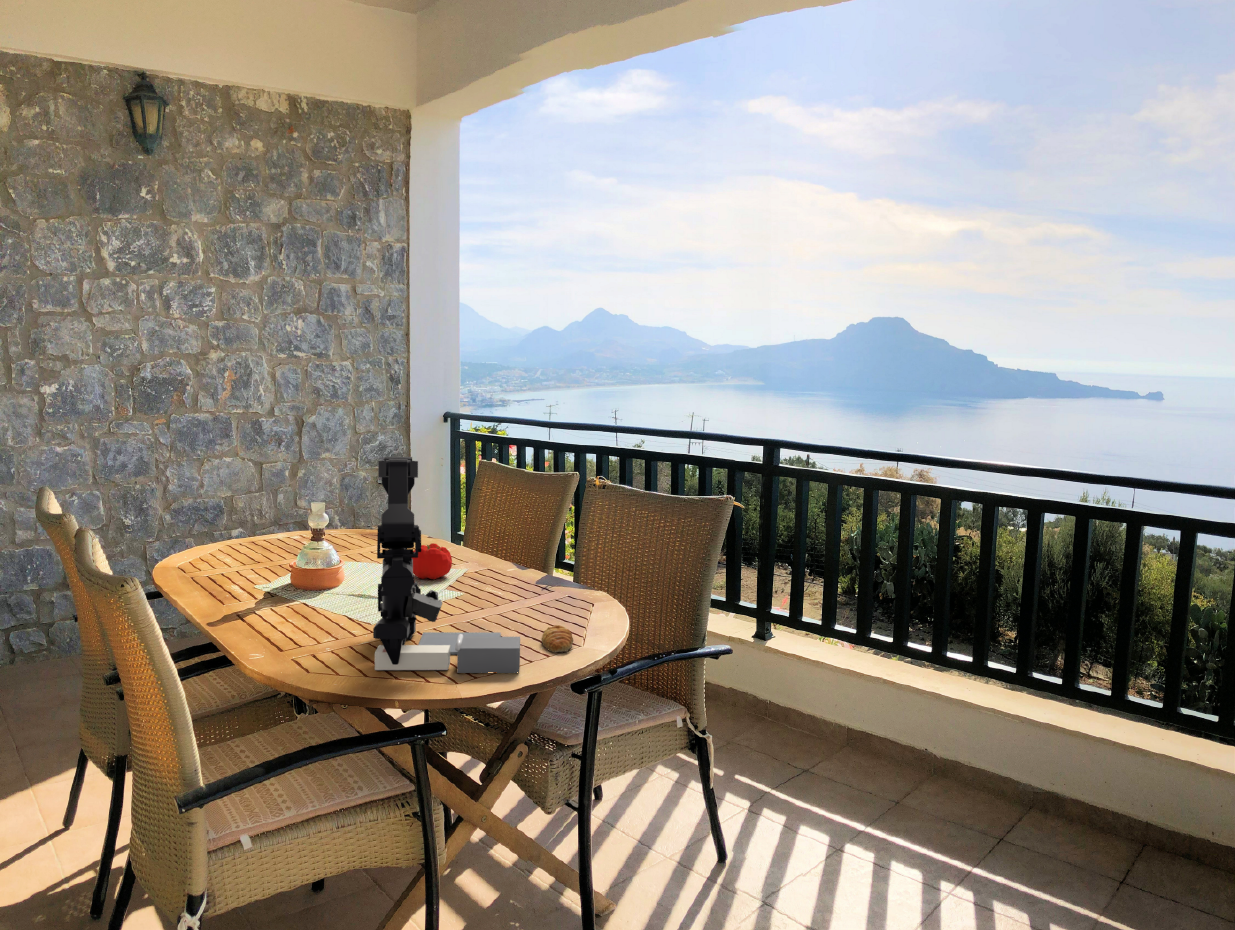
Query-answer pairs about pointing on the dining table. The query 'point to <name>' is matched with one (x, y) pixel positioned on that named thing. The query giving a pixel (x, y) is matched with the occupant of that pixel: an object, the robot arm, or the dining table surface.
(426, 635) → the mat
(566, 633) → the pastry
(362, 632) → the dining table surface
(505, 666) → the block
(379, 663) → the white block
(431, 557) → the tomato
